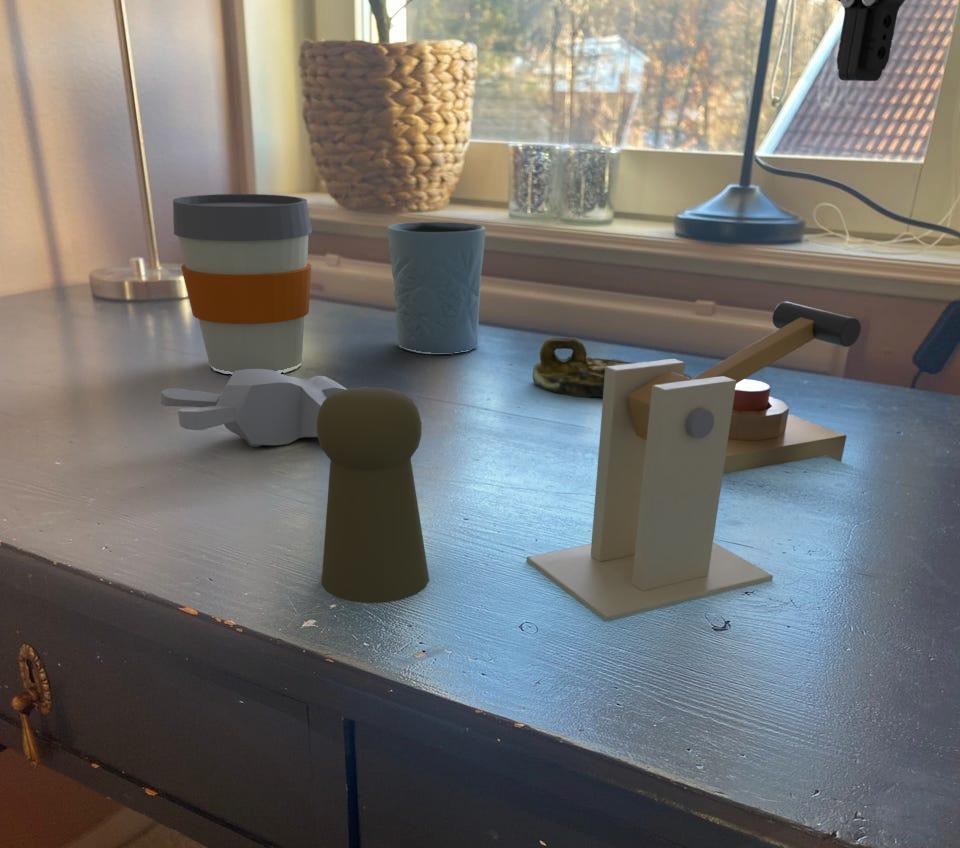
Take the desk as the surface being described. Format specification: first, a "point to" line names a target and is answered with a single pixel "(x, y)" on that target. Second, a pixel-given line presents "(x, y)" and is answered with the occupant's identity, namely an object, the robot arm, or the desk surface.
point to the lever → (759, 352)
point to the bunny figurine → (257, 406)
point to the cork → (371, 496)
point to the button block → (777, 439)
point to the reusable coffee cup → (247, 276)
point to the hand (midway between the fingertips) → (858, 80)
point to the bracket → (655, 500)
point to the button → (751, 396)
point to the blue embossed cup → (437, 284)
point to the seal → (572, 369)
